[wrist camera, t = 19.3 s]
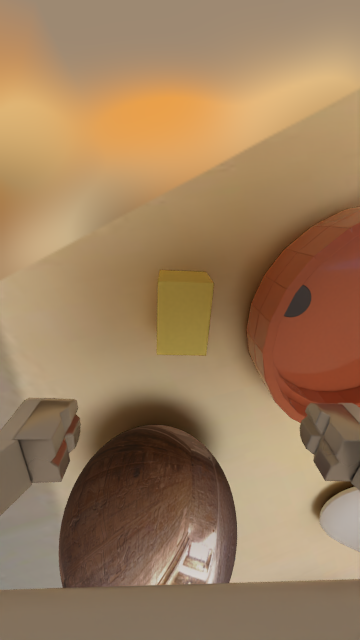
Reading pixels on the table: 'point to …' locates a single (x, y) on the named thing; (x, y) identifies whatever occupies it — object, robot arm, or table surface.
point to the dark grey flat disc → (299, 302)
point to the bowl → (311, 319)
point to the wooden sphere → (149, 514)
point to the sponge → (183, 312)
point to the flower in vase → (343, 518)
